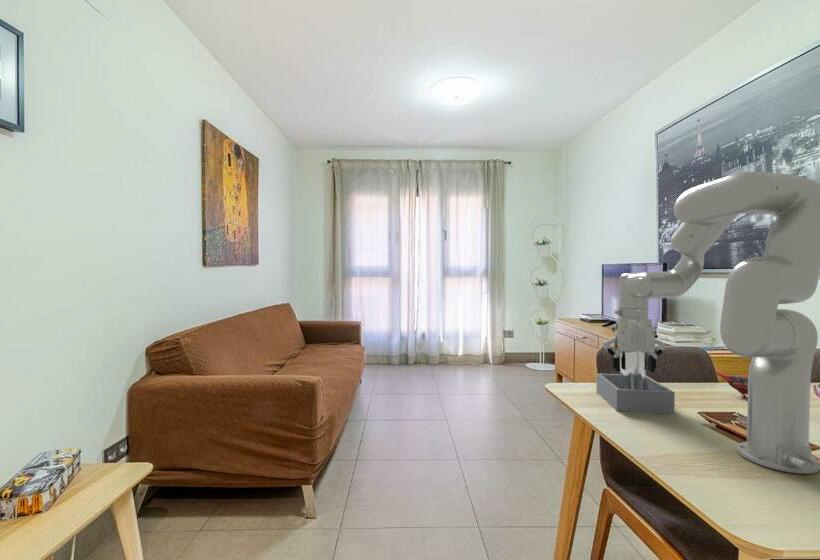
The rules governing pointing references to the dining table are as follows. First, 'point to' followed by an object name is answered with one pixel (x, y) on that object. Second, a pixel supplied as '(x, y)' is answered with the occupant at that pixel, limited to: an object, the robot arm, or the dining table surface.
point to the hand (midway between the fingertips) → (633, 370)
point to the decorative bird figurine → (737, 383)
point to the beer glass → (633, 369)
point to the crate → (635, 395)
